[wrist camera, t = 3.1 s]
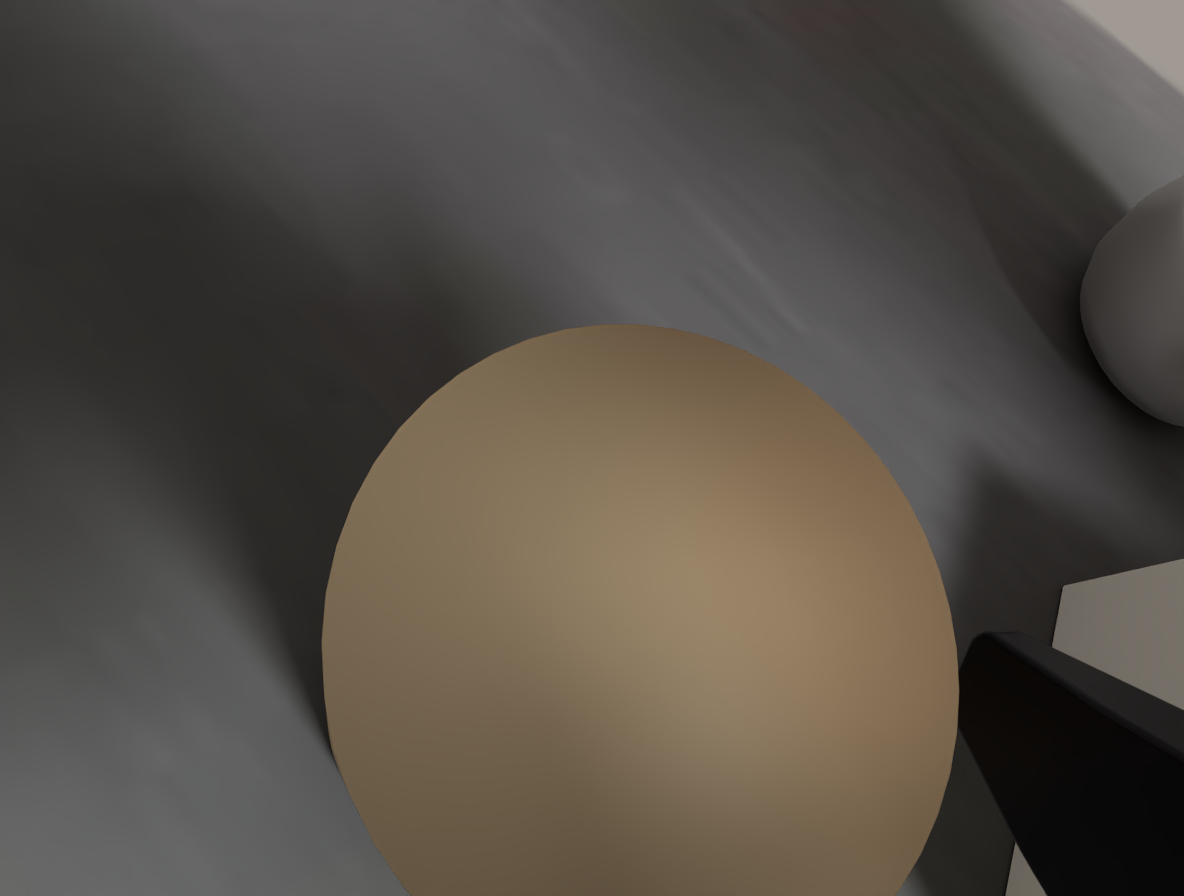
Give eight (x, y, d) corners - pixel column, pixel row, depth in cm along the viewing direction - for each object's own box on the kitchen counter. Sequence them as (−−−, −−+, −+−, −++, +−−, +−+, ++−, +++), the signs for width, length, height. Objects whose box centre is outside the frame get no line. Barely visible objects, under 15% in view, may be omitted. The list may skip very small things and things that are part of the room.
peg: (363, 871, 14) (446, 1185, 4) (302, 636, 15) (242, 393, 5) (583, 780, 15) (1058, 831, 5) (515, 571, 16) (811, 280, 6)
